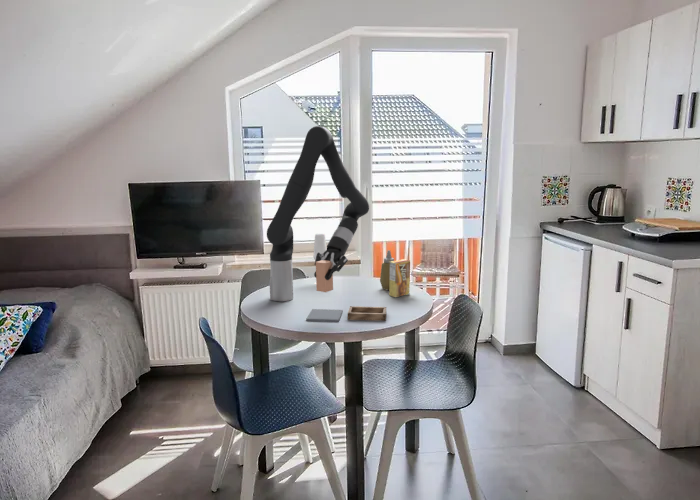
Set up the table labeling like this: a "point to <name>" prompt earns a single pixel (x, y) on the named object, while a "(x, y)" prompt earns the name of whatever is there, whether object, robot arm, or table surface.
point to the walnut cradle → (367, 313)
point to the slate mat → (324, 315)
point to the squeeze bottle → (386, 271)
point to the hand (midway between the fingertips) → (321, 278)
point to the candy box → (399, 278)
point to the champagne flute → (319, 245)
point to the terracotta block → (323, 276)
